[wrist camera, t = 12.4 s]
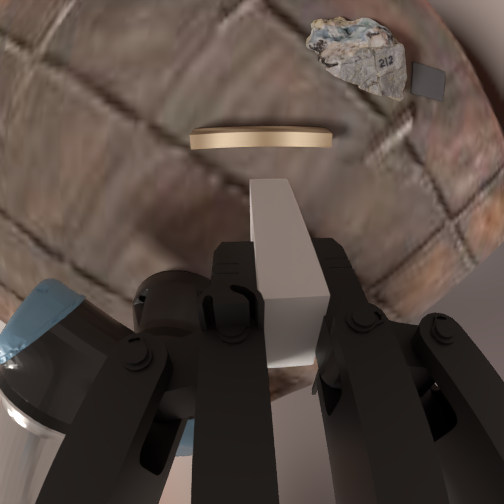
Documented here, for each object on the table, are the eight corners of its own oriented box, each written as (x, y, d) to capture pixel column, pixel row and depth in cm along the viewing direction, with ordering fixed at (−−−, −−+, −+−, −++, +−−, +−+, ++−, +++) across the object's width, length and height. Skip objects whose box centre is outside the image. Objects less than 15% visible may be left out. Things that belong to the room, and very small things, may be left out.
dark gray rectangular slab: (410, 93, 26) (411, 93, 26) (412, 61, 24) (413, 62, 24) (441, 101, 26) (442, 101, 26) (444, 71, 24) (445, 72, 24)
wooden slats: (195, 142, 30) (191, 149, 27) (188, -28, 18) (183, -36, 15) (323, 140, 30) (331, 147, 27) (326, -26, 18) (334, -33, 16)
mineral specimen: (343, 35, 26) (313, 98, 29) (317, -7, 20) (279, 61, 22) (419, 53, 22) (394, 124, 24) (409, 5, 15) (380, 83, 18)
